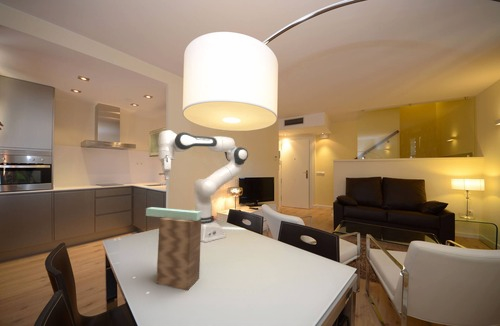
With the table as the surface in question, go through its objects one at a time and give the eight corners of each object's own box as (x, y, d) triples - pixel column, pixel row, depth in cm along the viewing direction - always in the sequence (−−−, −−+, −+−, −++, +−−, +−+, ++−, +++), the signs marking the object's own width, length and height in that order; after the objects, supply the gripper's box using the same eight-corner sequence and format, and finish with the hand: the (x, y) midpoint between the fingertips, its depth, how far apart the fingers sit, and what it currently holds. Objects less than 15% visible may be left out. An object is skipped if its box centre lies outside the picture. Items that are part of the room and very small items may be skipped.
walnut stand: (156, 283, 73) (159, 218, 74) (170, 273, 80) (172, 214, 81) (188, 290, 69) (190, 222, 70) (199, 278, 77) (201, 217, 78)
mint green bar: (145, 215, 78) (146, 208, 79) (151, 214, 81) (151, 207, 81) (196, 220, 72) (197, 212, 72) (200, 218, 75) (200, 211, 75)
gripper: (173, 154, 105) (173, 178, 104) (170, 158, 123) (171, 179, 122) (161, 153, 102) (161, 179, 101) (160, 158, 120) (160, 180, 119)
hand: (166, 179), depth 111 cm, fingers open, 8 cm apart
